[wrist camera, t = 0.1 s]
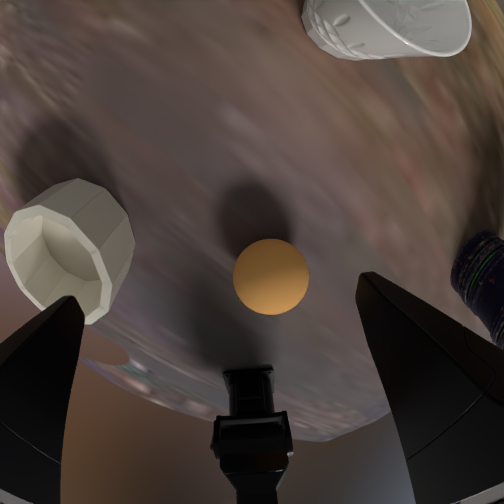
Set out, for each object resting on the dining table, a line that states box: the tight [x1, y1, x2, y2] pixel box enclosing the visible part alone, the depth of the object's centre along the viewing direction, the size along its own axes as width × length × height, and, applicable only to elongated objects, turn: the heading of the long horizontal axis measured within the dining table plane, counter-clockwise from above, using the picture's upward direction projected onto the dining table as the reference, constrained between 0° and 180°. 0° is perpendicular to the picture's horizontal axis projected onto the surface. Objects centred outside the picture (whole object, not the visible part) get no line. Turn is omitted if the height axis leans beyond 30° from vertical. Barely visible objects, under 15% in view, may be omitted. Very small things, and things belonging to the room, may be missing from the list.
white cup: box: [301, 0, 472, 61], centre depth 10 cm, size 8×8×10 cm
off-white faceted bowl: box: [4, 178, 136, 324], centre depth 19 cm, size 11×11×6 cm
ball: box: [233, 239, 309, 315], centre depth 22 cm, size 6×6×6 cm
